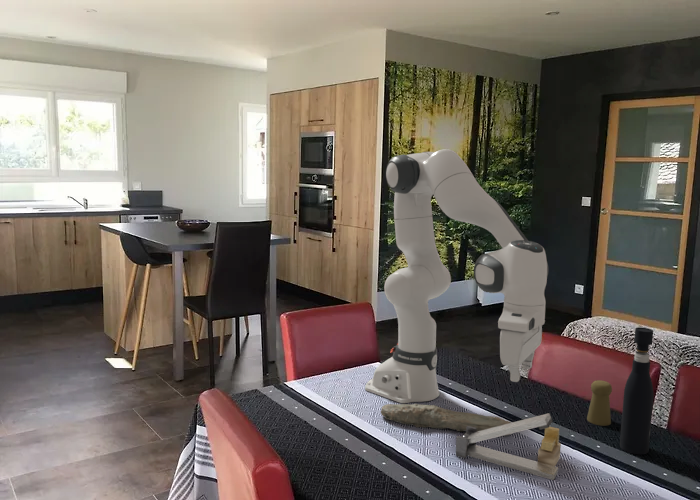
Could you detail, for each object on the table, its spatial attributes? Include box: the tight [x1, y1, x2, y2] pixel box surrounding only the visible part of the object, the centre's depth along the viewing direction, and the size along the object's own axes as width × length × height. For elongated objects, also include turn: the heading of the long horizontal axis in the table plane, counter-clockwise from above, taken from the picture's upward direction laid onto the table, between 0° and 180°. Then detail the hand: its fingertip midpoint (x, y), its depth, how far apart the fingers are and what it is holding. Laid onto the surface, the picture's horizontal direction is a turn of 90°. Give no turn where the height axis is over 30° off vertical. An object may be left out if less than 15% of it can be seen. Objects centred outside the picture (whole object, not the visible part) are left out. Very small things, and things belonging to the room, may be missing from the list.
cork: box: [586, 379, 613, 427], centre depth 159 cm, size 6×6×11 cm
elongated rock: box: [380, 403, 512, 437], centre depth 156 cm, size 35×5×10 cm
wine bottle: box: [619, 326, 655, 455], centre depth 142 cm, size 6×6×30 cm
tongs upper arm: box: [461, 412, 554, 446], centre depth 136 cm, size 22×5×2 cm, turn 57°
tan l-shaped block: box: [540, 425, 560, 452], centre depth 136 cm, size 3×5×4 cm, turn 148°
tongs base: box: [455, 426, 559, 481], centre depth 136 cm, size 22×7×5 cm, turn 58°
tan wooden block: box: [537, 442, 562, 467], centre depth 137 cm, size 4×6×4 cm, turn 148°
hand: (521, 374), depth 133 cm, fingers open, 8 cm apart
